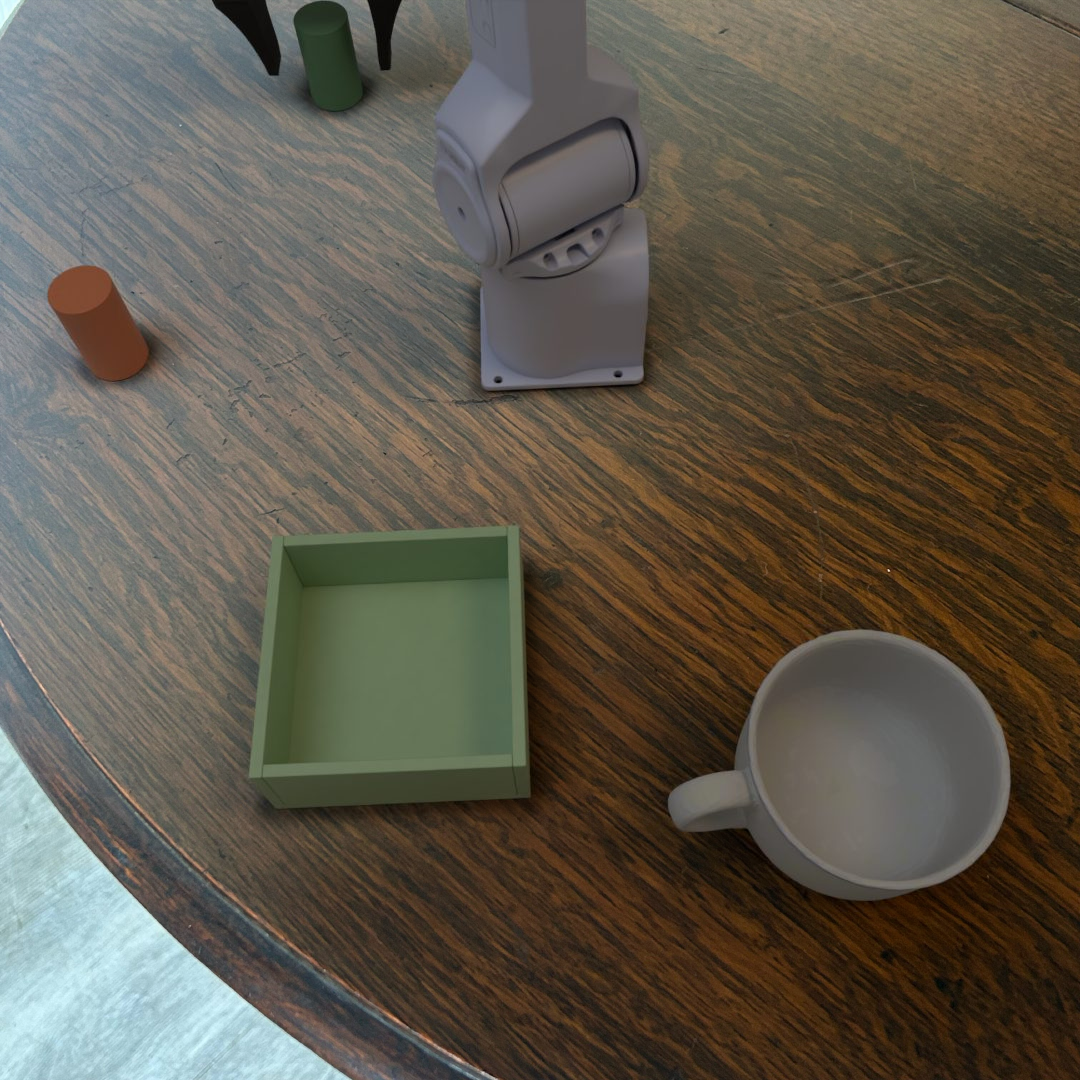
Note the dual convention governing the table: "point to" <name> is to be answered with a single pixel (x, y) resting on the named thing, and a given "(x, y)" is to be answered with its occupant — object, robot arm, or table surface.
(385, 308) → the table surface
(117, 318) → the terracotta peg
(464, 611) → the green bin
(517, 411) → the table surface
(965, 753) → the teacup
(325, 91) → the green peg
